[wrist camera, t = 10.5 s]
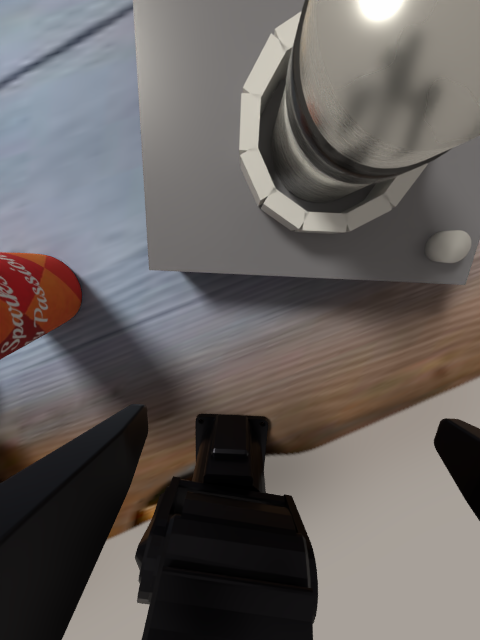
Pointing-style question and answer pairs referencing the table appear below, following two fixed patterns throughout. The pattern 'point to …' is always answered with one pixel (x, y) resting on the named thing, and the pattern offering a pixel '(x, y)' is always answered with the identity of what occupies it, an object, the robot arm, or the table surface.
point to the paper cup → (34, 298)
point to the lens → (375, 92)
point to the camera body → (257, 166)
